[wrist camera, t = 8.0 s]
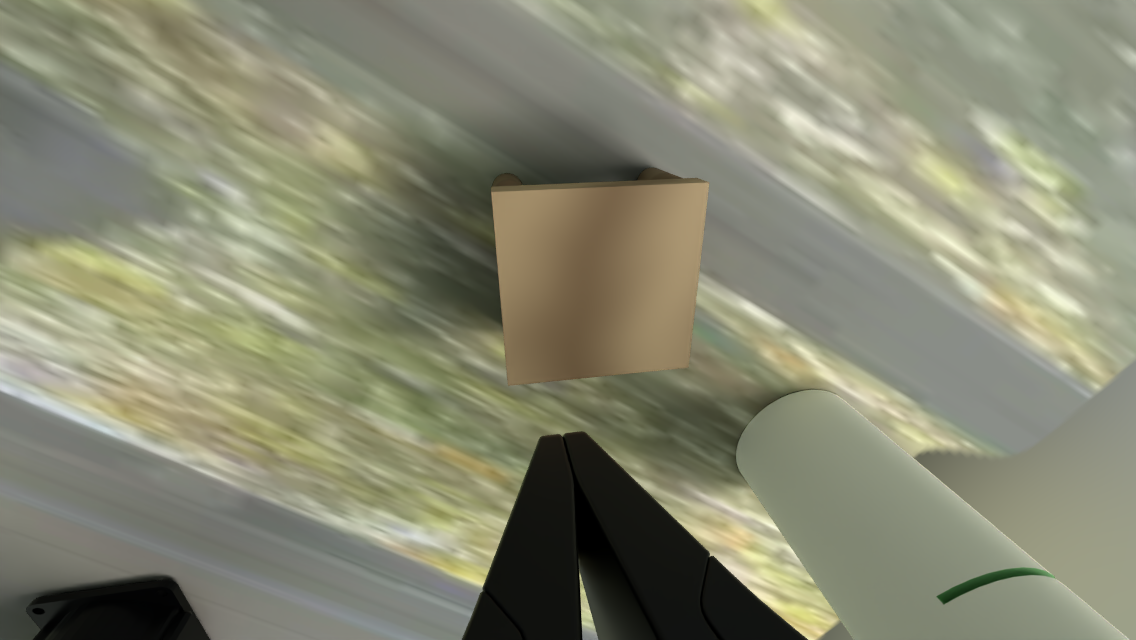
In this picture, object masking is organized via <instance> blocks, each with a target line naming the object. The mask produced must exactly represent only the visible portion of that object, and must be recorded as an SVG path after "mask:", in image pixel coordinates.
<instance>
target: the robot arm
mask: <svg viewBox="0 0 1136 640" xmlns="http://www.w3.org/2000/svg"><path fill="white" fill-rule="evenodd" d="M579 570H580V574H581V577H582V581H583V585H584V588H585V592H586V596H587V599H588V603H589V607H590V610H591V614H592V617H593V621H594V625H595V628H596V632H597V636H598V639H599V640H808V639H807V638H805V637H804V636H803V635H802V634H800V633H799V632H798V631H797V630H795V629H794V628H793V627H792V626H791V625H790V624H788V623H787V622H786V621H785V620H784V619H782V618H781V617H780V616H779V615H778V614H776V613H775V612H774V611H773V610H772V609H770V608H769V607H768V606H767V605H766V604H765V603H763V602H762V601H761V600H760V599H759V598H758V597H757V596H755V595H754V594H753V593H752V592H751V591H750V590H749V589H748V588H747V587H746V586H745V585H743V584H742V583H741V582H740V581H739V580H738V579H737V578H736V577H735V576H734V575H733V574H732V573H730V572H729V571H728V570H727V569H726V568H725V567H724V566H723V565H722V564H721V563H720V562H719V561H718V560H717V559H716V558H715V557H714V556H710V553H709V551H708V550H706V549H705V548H704V547H703V546H702V545H701V544H700V543H699V542H698V541H697V540H696V539H695V538H694V537H693V536H692V535H691V534H690V533H689V532H688V531H687V530H686V529H685V528H684V527H683V526H682V525H681V524H680V523H679V522H678V521H677V520H675V519H674V518H673V517H672V516H671V515H670V514H669V513H668V512H667V511H666V510H665V509H664V508H663V507H662V506H661V505H660V504H659V503H658V502H657V501H656V500H655V499H654V498H653V497H652V496H651V495H650V494H649V493H648V492H647V491H646V490H644V489H643V488H642V487H641V486H640V485H639V484H638V483H637V482H636V481H635V480H634V479H633V478H632V477H631V476H630V475H629V474H628V473H627V472H626V471H625V470H624V469H623V468H622V467H621V466H620V465H619V464H618V463H617V462H616V461H615V460H613V459H612V458H611V457H610V456H609V455H608V454H607V453H606V452H605V451H604V450H603V449H602V448H601V447H600V446H599V445H598V444H597V443H596V442H595V441H594V440H593V439H592V438H591V437H590V436H589V435H588V434H587V433H585V432H573V433H566V434H564V435H563V437H562V436H561V435H560V434H555V435H546V436H542V437H540V439H539V441H538V443H537V446H536V449H535V451H534V454H533V456H532V459H531V462H530V464H529V467H528V470H527V472H526V475H525V477H524V480H523V483H522V485H521V488H520V491H519V493H518V496H517V499H516V501H515V504H514V506H513V509H512V512H511V514H510V517H509V520H508V522H507V525H506V527H505V530H504V533H503V535H502V538H501V541H500V543H499V546H498V549H497V551H496V554H495V556H494V559H493V562H492V564H491V567H490V570H489V572H488V575H487V577H486V580H485V583H484V585H483V592H481V593H480V595H479V598H478V600H477V603H476V606H475V608H474V611H473V614H472V616H471V619H470V621H469V623H468V626H467V628H466V631H465V633H464V635H463V638H462V640H582V621H581V600H580V579H579ZM26 612H27V614H28V615H29V616H30V617H31V618H32V620H33V621H34V622H35V623H36V624H37V626H38V627H39V628H40V629H41V631H40V632H39V633H38V634H37V635H36V636H35V638H34V639H33V640H210V639H209V637H208V635H207V634H206V632H205V630H204V629H203V627H202V625H201V624H200V622H199V620H198V618H197V617H196V615H195V613H194V612H193V610H192V608H191V607H190V605H189V603H188V601H187V600H186V598H185V596H184V595H183V593H182V591H181V589H180V588H179V586H178V584H177V583H176V582H174V581H172V580H158V581H150V582H143V583H136V584H129V585H122V586H115V587H108V588H100V589H93V590H86V591H79V592H72V593H65V594H58V595H51V596H43V597H38V598H36V599H34V600H33V601H32V603H31V604H30V605H29V606H28V607H27V608H26Z"/></svg>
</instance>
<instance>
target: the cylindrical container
mask: <svg viewBox="0 0 1136 640" xmlns="http://www.w3.org/2000/svg"><path fill="white" fill-rule="evenodd" d="M736 463H737V466H738V469H739V471H740V473H741V474H742V476H743V477H744V478H745V480H746V481H747V483H748V484H749V486H750V487H751V489H752V490H753V492H754V493H755V495H756V496H757V498H758V499H759V501H760V502H761V504H762V505H763V507H764V508H765V510H766V511H767V512H768V514H769V515H770V517H771V518H772V520H773V521H774V523H775V524H776V526H777V527H778V529H779V530H780V532H781V533H782V535H783V536H784V538H785V539H786V541H787V542H788V544H789V545H790V546H791V548H792V549H793V551H794V552H795V554H796V555H797V557H798V558H799V560H800V561H801V563H802V564H803V566H804V567H805V569H806V570H807V572H808V573H809V575H810V576H811V577H812V579H813V580H814V582H815V583H816V585H817V586H818V588H819V589H820V591H821V592H822V594H823V595H824V597H825V598H826V600H827V601H828V603H829V604H830V605H831V607H832V608H833V610H834V611H835V613H836V614H837V616H838V617H839V619H840V620H841V622H842V623H843V625H844V626H845V627H846V629H847V631H848V632H849V633H850V635H851V636H852V637H853V639H854V640H1130V639H1128V638H1127V637H1126V636H1125V635H1124V634H1122V633H1121V632H1120V631H1119V630H1117V629H1116V628H1115V627H1114V626H1113V625H1112V624H1111V623H1109V622H1108V621H1107V620H1106V619H1105V618H1103V617H1102V616H1101V615H1100V614H1099V613H1097V612H1096V611H1095V610H1094V609H1093V608H1091V607H1090V606H1089V605H1088V604H1087V603H1086V602H1084V601H1083V600H1082V599H1081V598H1080V597H1078V596H1077V595H1076V594H1075V593H1073V592H1072V591H1071V590H1070V589H1069V588H1068V587H1066V586H1065V585H1064V584H1063V583H1061V582H1060V581H1058V580H1056V578H1055V577H1054V576H1053V575H1052V574H1051V573H1050V572H1049V571H1047V570H1046V569H1045V568H1044V567H1043V566H1041V565H1040V564H1039V563H1038V562H1037V561H1035V560H1034V559H1033V558H1032V557H1031V556H1029V555H1028V554H1027V553H1026V552H1025V551H1024V550H1022V549H1021V548H1020V547H1019V546H1018V545H1016V544H1015V543H1014V542H1013V541H1012V540H1010V539H1009V538H1008V537H1007V536H1006V535H1004V534H1003V533H1002V532H1001V531H1000V530H999V529H997V528H996V527H995V526H994V525H993V524H991V523H990V522H989V521H988V520H987V519H985V518H984V517H983V516H982V515H981V514H979V513H978V512H977V511H976V510H975V509H974V508H972V507H971V506H970V505H969V504H968V503H966V502H965V501H964V500H963V499H962V498H960V497H959V496H958V495H957V494H956V493H954V492H953V491H952V490H951V489H949V488H948V487H947V486H946V485H945V484H944V483H942V482H941V481H940V480H939V479H937V477H935V476H934V475H933V474H932V473H930V472H929V471H928V470H927V469H926V468H925V467H923V466H922V465H921V464H920V463H919V462H917V461H916V460H915V459H914V458H913V457H912V456H910V455H909V454H908V453H907V452H906V451H904V450H903V449H902V448H901V447H900V446H898V445H897V444H896V443H895V442H894V441H892V440H891V439H890V438H889V437H888V436H887V435H885V434H884V433H883V432H882V431H881V430H879V429H878V428H877V427H876V426H875V425H873V424H872V423H871V422H870V421H869V420H867V419H866V418H865V417H864V416H863V415H861V414H860V413H859V412H858V411H857V410H856V409H854V408H853V407H852V406H851V405H850V404H848V403H847V402H846V401H845V400H844V399H842V398H841V397H839V396H838V395H836V394H834V393H831V392H828V391H823V390H804V391H800V392H796V393H792V394H789V395H787V396H784V397H782V398H780V399H778V400H776V401H774V402H773V403H771V404H769V405H768V406H766V407H765V408H764V409H763V410H761V411H760V412H759V413H758V414H757V415H756V416H755V417H754V418H753V419H752V420H751V421H750V422H749V424H748V425H747V427H746V428H745V430H744V431H743V433H742V435H741V437H740V439H739V442H738V445H737V450H736Z"/></svg>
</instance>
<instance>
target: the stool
mask: <svg viewBox="0 0 1136 640" xmlns="http://www.w3.org/2000/svg"><path fill="white" fill-rule="evenodd" d="M708 189H709V182H707V181H704V180H701V179H698V178H681V177H678V176H675V175H673V174H670V173H668V172H665V171H663V170H660V169H657V168H647V169H645V170H644V171H643V172H642V173H641V174H640V175H639V177H638V179H637V180H636V181H613V182H589V183H566V184H543V185H522V183H521V181H520V180H519V178H518V177H516V176H515V175H513V174H510V173H504V174H501V175H499V176H498V177H496V178H495V180H494V182H493V184H492V187H491V195H492V207H493V219H494V230H495V242H496V253H497V265H498V276H499V288H500V299H501V311H502V322H503V334H504V345H505V357H506V368H507V380H508V386H510V385H520V384H530V383H540V382H550V381H560V380H570V379H580V378H590V377H599V376H609V375H619V374H629V373H639V372H649V371H659V370H669V369H679V368H688V367H689V358H690V349H691V340H692V331H693V322H694V313H695V304H696V295H697V287H698V278H699V269H700V260H701V251H702V242H703V233H704V224H705V215H706V207H707V198H708Z"/></svg>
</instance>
